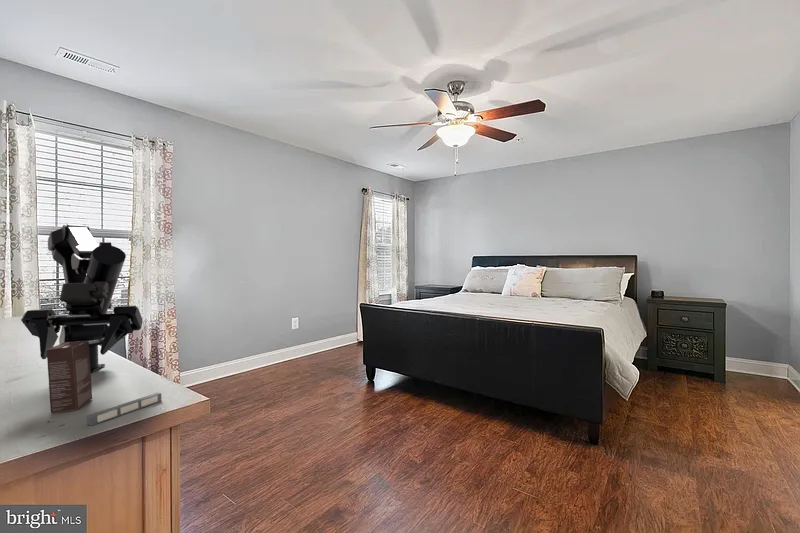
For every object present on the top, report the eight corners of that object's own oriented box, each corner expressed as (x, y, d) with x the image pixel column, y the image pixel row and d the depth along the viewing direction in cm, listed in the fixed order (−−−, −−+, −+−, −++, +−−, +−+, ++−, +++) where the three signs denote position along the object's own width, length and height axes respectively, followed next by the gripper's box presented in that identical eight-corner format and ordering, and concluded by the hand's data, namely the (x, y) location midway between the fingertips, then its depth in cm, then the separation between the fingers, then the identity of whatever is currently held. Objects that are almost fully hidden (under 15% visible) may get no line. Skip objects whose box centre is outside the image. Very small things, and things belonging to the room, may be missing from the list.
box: (65, 402, 73) (63, 341, 73) (93, 399, 75) (91, 339, 74) (46, 414, 68) (45, 348, 67) (76, 411, 69) (75, 346, 69)
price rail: (87, 424, 63) (86, 415, 63) (157, 399, 74) (157, 392, 74) (91, 425, 63) (91, 417, 63) (162, 400, 74) (161, 393, 74)
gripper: (25, 269, 73) (-13, 335, 63) (137, 267, 80) (119, 327, 70) (48, 305, 81) (18, 369, 71) (148, 301, 87) (134, 359, 77)
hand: (73, 355), depth 72 cm, fingers open, 9 cm apart
